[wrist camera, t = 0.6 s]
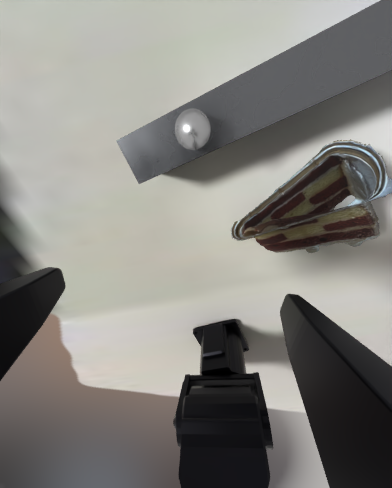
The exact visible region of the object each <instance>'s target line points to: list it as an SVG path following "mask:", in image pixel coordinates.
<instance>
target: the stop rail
mask: <svg viewBox="0 0 392 488" xmlns="http://www.w3.org/2000/svg"><path fill="white" fill-rule="evenodd" d="M391 70H392V0H381V1H379V2H377V3H375V4H373V5H371V6H369V7H367V8H366V9H364V10H362V11H360V12H358V13H356V14H354V15H352V16H350V17H349V18H347V19H345V20H343V21H341V22H339V23H337V24H335V25H334V26H332V27H330V28H328V29H326V30H324V31H322V32H320V33H318V34H317V35H315V36H313V37H311V38H309V39H307V40H305V41H303V42H301V43H300V44H298V45H296V46H294V47H292V48H290V49H288V50H286V51H284V52H283V53H281V54H279V55H277V56H275V57H273V58H271V59H269V60H268V61H266V62H264V63H262V64H260V65H258V66H256V67H254V68H252V69H251V70H249V71H247V72H245V73H243V74H241V75H239V76H237V77H235V78H234V79H232V80H230V81H228V82H226V83H224V84H222V85H220V86H218V87H217V88H215V89H213V90H211V91H209V92H207V93H205V94H203V95H202V96H200V97H198V98H196V99H194V100H192V101H190V102H188V103H186V104H185V105H183V106H181V107H179V108H177V109H175V110H173V111H171V112H169V113H168V114H166V115H164V116H162V117H160V118H158V119H156V120H154V121H152V122H151V123H149V124H147V125H145V126H143V127H141V128H139V129H137V130H136V131H134V132H132V133H130V134H128V135H126V136H124V137H122V138H120V139H119V140H117V143H118V145H119V147H120V149H121V151H122V153H123V155H124V156H125V158H126V160H127V162H128V164H129V166H130V168H131V170H132V171H133V173H134V175H135V177H136V179H137V181H138V183H139V184H140V183H143V182H145V181H147V180H149V179H151V178H154V177H156V176H158V175H160V174H163V173H165V172H167V171H169V170H171V169H174V168H176V167H178V166H180V165H183V164H185V163H187V162H189V161H191V160H194V159H196V158H198V157H200V156H202V155H205V154H207V153H209V152H211V151H214V150H216V149H218V148H220V147H222V146H225V145H227V144H229V143H231V142H234V141H236V140H238V139H240V138H242V137H245V136H247V135H249V134H251V133H253V132H256V131H258V130H260V129H262V128H265V127H267V126H269V125H271V124H273V123H276V122H278V121H280V120H282V119H285V118H287V117H289V116H291V115H293V114H296V113H298V112H300V111H302V110H304V109H307V108H309V107H311V106H313V105H316V104H318V103H320V102H322V101H324V100H327V99H329V98H331V97H333V96H336V95H338V94H340V93H342V92H344V91H347V90H349V89H351V88H353V87H355V86H358V85H360V84H362V83H364V82H367V81H369V80H371V79H373V78H375V77H378V76H380V75H382V74H384V73H387V72H389V71H391Z"/></svg>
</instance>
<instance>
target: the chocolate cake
mask: <svg viewBox="0 0 392 488" xmlns="http://www.w3.org/2000/svg"><path fill="white" fill-rule="evenodd" d="M385 169H386V166H385V163H384V160H383V158H382V156H380V154H379V153H378V154H377V153H376V152H375V150H374V149H373V148H372V147H371V146H370V145H368V146H366V144H364V145H363V144H361V143H359V142H355V141H353V140H349V141H347V140H343V141H342V140H340V141H339V140H337V141H334V142H333V143H330V144H328V145H325V146H324V147H323V148H322V150H321V151H320V152H319V153H318V154H317V155H316V156H315V157H314V158H313V159H311V160H310V161H309V162H308V163H307V164H306V165H305V166H304V167H303V168H302V169H300V170H299V171H298V172H297V173H296V174H295V175H293V176H292V177H291V178H290V180H289V181H287V182H286V183H284V184H283V185H282V186H280V187H279V188H278V189H276V190H275V192H274V193H273V194H272V195H271V196H269V198H268V199H266V200H265V201H263V202H262V203H261V204H260V205H259V206H258V207H256V208H255V209H254V210H253V211H251V212H249V214H248V215H246V216H245V217H244V218H243V219H242V220H240V221H236V222H235V223H234V224H233V226H232V228H231V231H232V233H231V235H232V238H234V239H236V240H237V241H243V240H246V239H250V238H253V237H254V238H256V241H257V242H258V243H259V244H260V245H262V246H264V247H265V248H266V249H267V250H270V251H274V252H289V251H294V250H301V249H306V251H307V252H309V253H313V252H317V251H318V250H319V246H326V245H331V244H334V243H347V244H349V245H351V246H359V245H361V244H362V242H363V241H365V240H368V239H374V238H377V237H378V236H379V234H380V232H379V223H378V217H377V216H376V213H375V211H374V209H373V207H372V205H371V202H370V201H371V200H374V199H377V198H380V197H386V194H390V193H392V179H391V178H389V177H388V176H387V173H386V170H385ZM349 195H353V196H355V200H354V201H353V202H352V203H351V204H349V205H348V206H347V207H343V208H340V209H337V210H334V208H335V206H336V205H337V204H339V203H340V202H342V201H343V200H344V199H345V198H346V197H347V196H349Z"/></svg>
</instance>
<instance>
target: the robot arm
mask: <svg viewBox="0 0 392 488" xmlns="http://www.w3.org/2000/svg"><path fill="white" fill-rule="evenodd" d="M64 289H65V281H64V278H63V274H62V271H61V270H60V269H59V268H53V267H48V268H45V269H42V270H39V271H36V272H33V273H30V274H27V275H24V276H21V277H18V278H15V279H13V280H10V281H7V282H4V283H1V284H0V381H1V379H2V378H3V377H4V375H5V374H6V373H7V371H8V370H9V369H10V367H11V366H12V365H13V363H14V362H15V361H16V360H17V358H18V357H19V356H20V354H21V353H22V351H23V350H24V349H25V348H26V346H27V345H28V344H29V342H30V341H31V340H32V338H33V337H34V336H35V334H36V333H37V332H38V330H39V329H40V328H41V326H42V325H43V323H44V322H45V320H46V319H47V317H48V315H49V314H50V312H51V311H52V309H53V308H54V306H55V304H56V303H57V301H58V300H59V298H60V296H61V295H62V293H63V292H64ZM280 316H281V321H282V326H283V331H284V336H285V341H286V346H287V351H288V355H289V358H290V362H291V365H292V368H293V371H294V375H295V378H296V381H297V384H298V387H299V391H300V394H301V397H302V400H303V403H304V407H305V410H306V413H307V416H308V419H309V423H310V426H311V429H312V432H313V435H314V439H315V442H316V445H317V448H318V451H319V455H320V458H321V461H322V464H323V468H324V471H325V474H326V477H327V480H328V484H329V487H330V488H392V366H390V365H389V364H388V363H386V362H385V361H384V360H382V359H381V358H380V357H379V356H377V355H376V354H375V353H373V352H372V351H371V350H369V349H368V348H367V347H366V346H364V345H363V344H362V343H360V342H359V341H358V340H356V339H355V338H354V337H353V336H351V335H350V334H349V333H347V332H346V331H345V330H343V329H342V328H341V327H339V326H338V325H337V324H336V323H334V322H333V321H332V320H330V319H329V318H328V317H326V316H325V315H324V314H323V313H321V312H320V311H319V310H317V309H316V308H315V307H313V306H312V305H311V304H310V303H308V302H307V301H306V300H304V299H303V298H302V297H300V296H299V295H295V294H287V295H286V296H285V299H284V302H283V304H282V307H281V310H280ZM193 334H194V336H195V337H196V339H197V341H198V342H199V344H200V345H201V361H200V375H190V374H188V375H185V379H184V382H183V385H182V389H181V393H180V398H179V402H178V406H177V411H176V415H175V418H174V421H173V422H174V423H173V424H174V426H175V428H176V432H177V433H176V434H177V442H178V446H179V447H181V450H180V466H179V480H180V484H181V488H268V486H269V481H270V472H269V465H268V459H267V453H266V449H273V442H272V434H271V428H270V422H269V417H268V412H267V407H266V403H265V399H264V394H263V390H262V386H261V381H260V377H259V373H258V372H256V373H253V374H246V368H245V362H244V355H243V352H245V351H248V350H249V347H248V344H247V342H246V340H245V338H244V335H243V333H242V331H241V329H240V327H239V324H238V322H237V321H236V320H229V321H225V322H220V323H216V324H211V325H207V326H203V327H198V328H194V329H193Z"/></svg>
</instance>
